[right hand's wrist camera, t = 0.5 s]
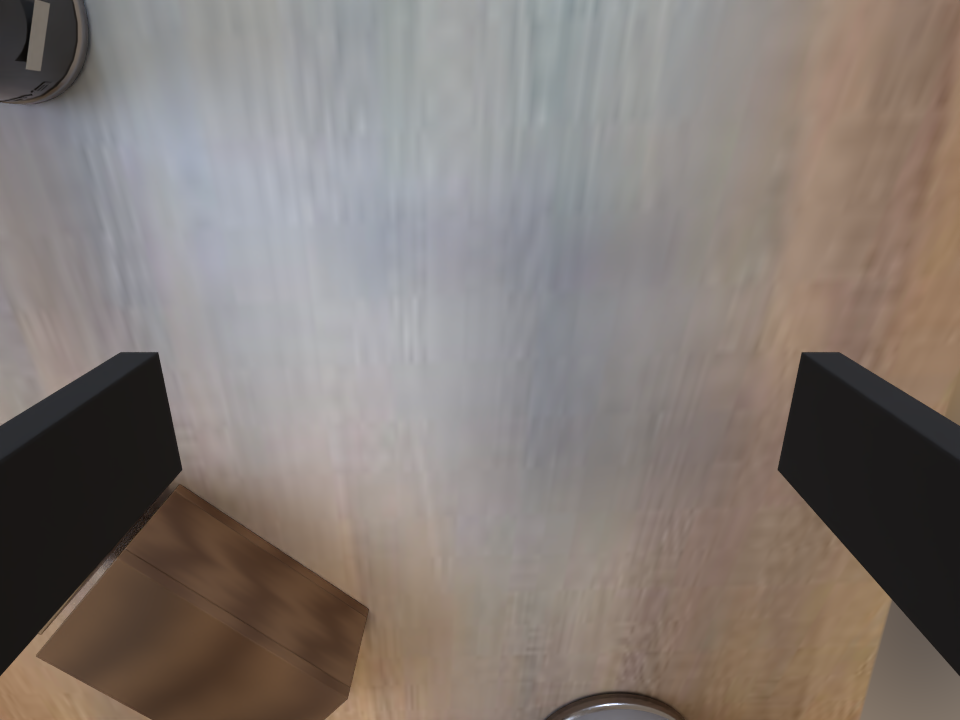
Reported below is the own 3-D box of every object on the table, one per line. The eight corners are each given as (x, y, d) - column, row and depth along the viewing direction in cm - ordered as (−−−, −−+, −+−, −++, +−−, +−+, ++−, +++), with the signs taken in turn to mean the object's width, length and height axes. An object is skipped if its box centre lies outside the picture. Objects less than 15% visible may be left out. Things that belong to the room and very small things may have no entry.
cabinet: (107, 570, 48) (34, 656, 40) (180, 483, 45) (116, 557, 37) (291, 682, 52) (258, 778, 44) (369, 609, 49) (348, 699, 41)
